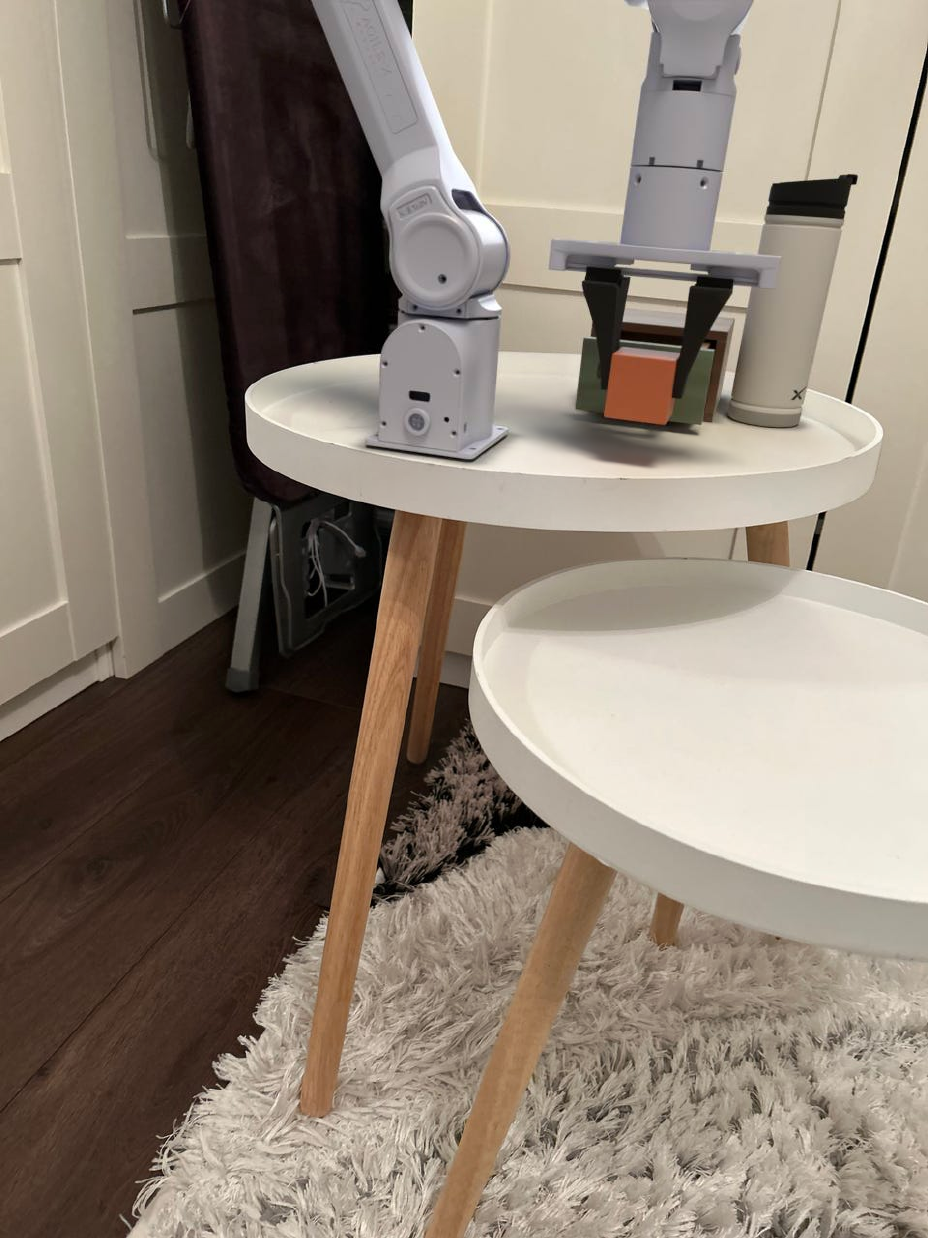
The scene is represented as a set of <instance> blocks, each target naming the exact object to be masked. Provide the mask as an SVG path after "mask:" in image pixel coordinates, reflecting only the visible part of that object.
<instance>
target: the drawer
mask: <svg viewBox="0 0 928 1238" xmlns="http://www.w3.org/2000/svg"><path fill="white" fill-rule="evenodd" d="M682 340H683V337H677V336H667V335H657V334H647V333H637V332H627V331H621V334H620V345H619V349H620V348H622V347H629V348H638V349H647V350H656V351H666V352H675V353H680V351H681V347H682ZM713 343H714V340H707V339H705V340H704V342H703V344H702V346H701V348H700V350H699V353H698V355H697V357H696V359H695V362H694V364H693V367H692V369H691V372H690V375H689V377H688V381H687V384H686V388H685V392H684V395H683V397H682V399H677V398H675V400H674V406H673V412H672V415H671V416H670V418H669V420H668V421H667V422H674V423H682V424H688V425H689V424H690V425H697V426H701V425H702V424H703V422H704V421H703V415H704V410H705V404H706V398H707V393H708V387H709V381H710V376H711V370H712V364H713V358H714V353H715V350H714V349H712V348H713ZM581 346H582V348H581V355H580V356H581V357H580V362H579V363H580V365H579V373H578V382H577V389H576V390H577V392H576V399H575V410H576V411H584V412H592V413H593V412H594V413H601V414H604V412H605V404H606V397H607V390H603V389H601V371H600V359H599V351H598V345H597V340H596V337H591V336H585V337H584V336H583V339H582V345H581Z"/></svg>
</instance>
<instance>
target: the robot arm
mask: <svg viewBox="0 0 928 1238" xmlns="http://www.w3.org/2000/svg"><path fill="white" fill-rule="evenodd" d="M310 1H311V2H312V6H313V8H314V11H315V13H316V17H317V18H318V21H319V23H320V26H321V28H322V30H323V34H324V35H325V38H326V41H327V43H328V47H329V48H330V51H331V53H332V56H333V58H334V60H335V64H336V66H337V69H338V71H339V73H340V76H341V79H342V81H343V84H344V86H345V88H346V92H347V93H348V96H349V99H350V101H351V104H352V106H353V108H354V111H355V114H356V116H357V119H358V121H359V123H360V126H361V128H362V132H363V133H364V136H365V139H366V141H367V143H368V146H369V148H370V151H371V153H372V156H373V159H374V161H375V164H376V166H377V169H378V171H379V173H380V176H381V179H382V180H381V181H382V182H381V193H380V211H381V214H382V216H383V219H384V221H385V224H386V226H387V231H388V235H389V253H388V254H389V255H388V261H389V269H390V273H391V276H392V279H393V281H394V283H395V285H396V287H397V289H398V290H399V292H401V294H402V296H401V297H400V298H398V309H399V310H397V313H398V314H397V328H396V329H394V330H393V331H392V332H391V333H390V334H389V336H388V337H387V339H386V340H385V342H384V344H383V346H382V348H381V352H380V356H379V371H378V372H379V375H378V378H379V379H378V381H379V382H378V384H379V385H378V422H377V423H378V425H377V426H378V429H377V430H378V431H377V432H375V433H373V434H371V435H369V436H367V437H366V438H365V444H366V445H367V446H372V447H373V446H374V447H380V448H386V449H393V450H400V451H407V452H415V453H422V454H428V455H435V456H443V457H448V458H456V459H462V460H473V459H475V458H477V457H478V456H479V455H481V454H482V453H483V452H485V451H486V450H487V449H489V448H490V447H492V446H493V445H494V444H496V443H497V442H499V441H500V440H501V439H502V438H505V436H507V435H508V434H509V427H507V426H502V425H494V416H495V404H496V389H497V378H498V377H497V376H498V365H499V364H498V363H499V351H500V338H501V323H502V317H501V315H502V311H503V308H502V307H501V306H500V304H499V303H498V301H497V300H496V295H495V294H494V293H495V292H496V291H497V290H498V289H499V287H501V285H502V284H503V282H504V281H505V280H506V279H505V278H506V276H507V275H508V272H509V268H510V265H511V246H510V245H511V244H510V241H509V238H508V234H507V231H505V229H504V227H503V225H502V224H501V223H500V222H499V221H498V219H497V218H495V217H494V216H493V215H492V214H491V213H490V212H488V210H487V209H486V208H485V206H484V205H483V203H482V202H481V200H480V197H479V196H478V193H477V190H476V187H475V185H474V183H473V181H472V179H471V178H470V176H469V175H468V172H467V170H466V169H465V168H464V167H463V165H462V163H461V161H460V160H459V158H458V157H457V155H456V153H455V151H454V149H453V146H452V144H451V141H450V138H449V135H448V133H447V130H446V127H445V124H444V122H443V120H442V116H441V114H440V111H439V109H438V106H437V103H436V101H435V98H434V94H433V92H432V90H431V86H430V85H429V82H428V79H427V76H426V74H425V71H424V68H423V66H422V62H421V60H420V58H419V54H418V52H417V50H416V47H415V44H414V41H413V39H412V36H411V34H410V31H409V28H408V25H407V23H406V20H405V16H404V15H403V12H402V10H401V7H400V4H399V1H398V0H310ZM754 1H755V0H622V2H623V3H624V4H625V5H626V6H628V7H631V8H642V9H644V10H647V11H648V12H649V14H650V21H651V27H652V30H653V31H652V32H651V33H650V41H649V48H648V56H647V64H646V71H645V76H644V78H643V80H642V82H641V83H640V87H639V94H638V95H639V96H638V103H637V109H636V110H637V111H636V118H635V125H634V134H633V139H632V140H633V141H632V149H631V157H630V163H629V166H630V167H629V172H628V177H627V178H628V180H627V188H626V195H625V203H624V210H623V217H622V224H621V225H622V226H621V232H620V233H621V234H620V240H619V242H611V241H596V240H584V239H583V240H582V239H572V238H571V239H570V238H569V239H568V238H551V241H550V250H549V260H548V270H549V271H557V272H559V271H561V272H566V271H567V272H580V273H585V276H584V278H583V280H582V281H581V289H582V294H583V297H584V300H585V302H586V305H587V308H588V312H589V315H590V318H591V323H592V322H593V326H594V330H595V335H596V340H597V345H598V351H599V359H600V371H601V389H603V390H607V389H608V382H609V374H610V367H611V359H612V354H613V353H615V352H616V351H617V350H619V345H620V334H621V328H622V322H623V316H624V311H625V308H626V306H627V305H626V304H627V299H628V293H629V289H630V284H631V277H637V278H647V279H648V278H649V279H658V280H659V279H660V280H669V281H680V282H681V281H682V282H692V283H693V282H694V285H693V284H692V285H690V286H689V289H688V295H687V305H686V312H685V314H686V319H685V326H684V333H683V340H682V347H681V351H680V356H679V360H678V364H677V368H676V372H675V377H674V384H673V391H672V398H677V399H682V397H683V395H684V392H685V388H686V384H687V381H688V377H689V375H690V372H691V369H692V367H693V364H694V362H695V359H696V357H697V355H698V353H699V350H700V348H701V346H702V344H703V342H704V340H705V338H706V337H707V335H708V333H709V331H710V329H711V327H712V326H713V324H714V322H715V320H716V319H717V317H719V316H720V314H721V312H722V311H723V309H724V307H725V306H726V304H727V303H728V301H729V300H730V299H731V296H732V295H733V292H734V291H733V290H734V286H739V287H747V288H751V287H757V288H761V289H772V290H774V289H775V288H776V283H777V278H778V273H779V268H780V263H781V258H782V257H781V256H773V255H761V254H758V253H750V252H749V253H748V252H737V251H727V250H725V251H724V250H713V249H711V245H712V239H713V234H714V227H715V222H716V221H715V220H716V215H717V209H718V204H719V199H720V191H721V187H722V181H723V175H724V174H723V173H724V169H725V164H726V159H727V151H728V146H729V140H730V135H731V129H732V122H733V117H734V111H735V106H736V99H737V93H738V88H737V84H736V82H735V76H737V74H738V72H739V70H740V65H741V59H742V48H741V47H740V45H741V38H742V36H741V32H742V30H743V29H744V27H745V26H746V23H747V21H748V18H749V16H750V12H751V8H752V6H753V4H754ZM635 261H644V262H655V263H665V264H667V263H669V264H681V265H690V269H689V270H690V271H695V272H685V271H674V270H663V269H662V270H661V269H653V268H652V269H650V268H639V267H628V266H632V265H635ZM617 265H621V266H617ZM698 272H705V273H698ZM706 272H707V273H706Z"/></svg>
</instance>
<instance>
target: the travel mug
mask: <svg viewBox="0 0 928 1238" xmlns="http://www.w3.org/2000/svg"><path fill="white" fill-rule="evenodd" d="M858 179H859V176H858V174H856V173H854V174H853V173H847V174H840V175H839V176H838V177H837V178H823V179H809V180H795V181H794V180H793V181H782V182H773V183H772V184H771V186H770V190H769V194H768V200H767V201H768V205H767V207H766V209H765V214H764V217H763V221H764V224H763V225H762V228H761V233H760V237H759V238H760V239H759V244H758V250H757V254H761V255H773V256H781V257H782V258H781V263H780V268H779V273H778V278H777V283H776V288H775V289H774V290H772V289H761V288H757V287H750V293H749V297H748V303H747V309H746V313H745V319H744V324H743V330H742V336H741V340H740V346H739V351H738V357H737V361H736V367H735V373H734V377H733V383H732V388H731V389H732V390H731V394H730V395H731V398H730V399H729V404H728V410H727V416H728V417H729V418H730V419H732V420H733V421H736V422H740V423H742V424H748V425H754V426H758V427H768V428H791V427H796V426H798V424H799V423H800V422H801V417H802V413H803V406H802V405H804V403H805V399H806V395H807V390H808V385H809V382H810V377H811V374H812V368H813V364H814V359H815V356H816V355H815V354H816V349H817V345H818V340H819V337H820V331H821V326H822V324H823V323H822V322H823V319H824V313H825V309H826V305H827V300H828V296H829V292H830V288H831V287H830V286H831V282H832V277H833V273H834V268H835V264H836V259H837V255H838V252H839V251H838V250H839V246H840V242H841V238H842V232H843V229H842V227H843V226H844V225H845V224H844V223H845V216H846V207H847V206H848V201H849V197H850V193H851V189H852V186H856V185H857V183H858Z"/></svg>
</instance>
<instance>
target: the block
mask: <svg viewBox="0 0 928 1238" xmlns="http://www.w3.org/2000/svg"><path fill="white" fill-rule="evenodd" d="M679 356H680V353H675V352H666V351H656V350H647V349H638V348H629V347H622V348H620V349H619V350H617V351H616V352H615V353H613V354H612V359H611V367H610V374H609V382H608V389H607V397H606V404H605V412H604V413H603V418H609V419H615V420H624V421H631V422H638V423H647V424H653V425H654V424H655V425H660V426H661V425H663V426H666V424H667V423H668V422H669V421H668V420H669V418H670V416H671V415H672V412H673V406H674V400H675V398H672V391H673V384H674V377H675V372H676V368H677V364H678V360H679Z"/></svg>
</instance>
